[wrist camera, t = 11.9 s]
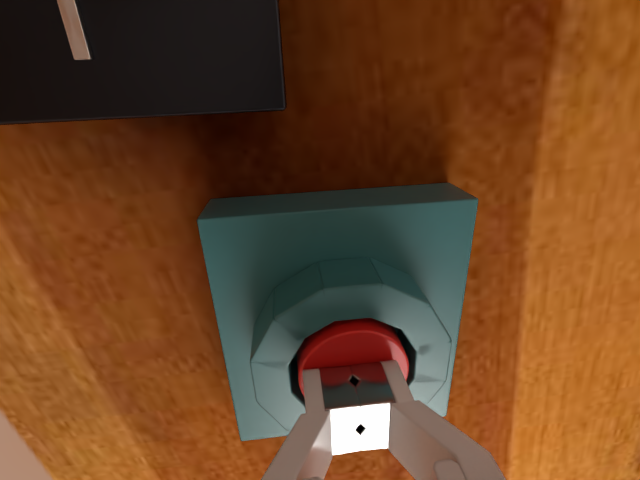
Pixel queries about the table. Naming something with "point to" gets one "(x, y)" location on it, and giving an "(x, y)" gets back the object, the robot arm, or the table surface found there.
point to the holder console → (138, 59)
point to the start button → (351, 346)
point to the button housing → (334, 285)
